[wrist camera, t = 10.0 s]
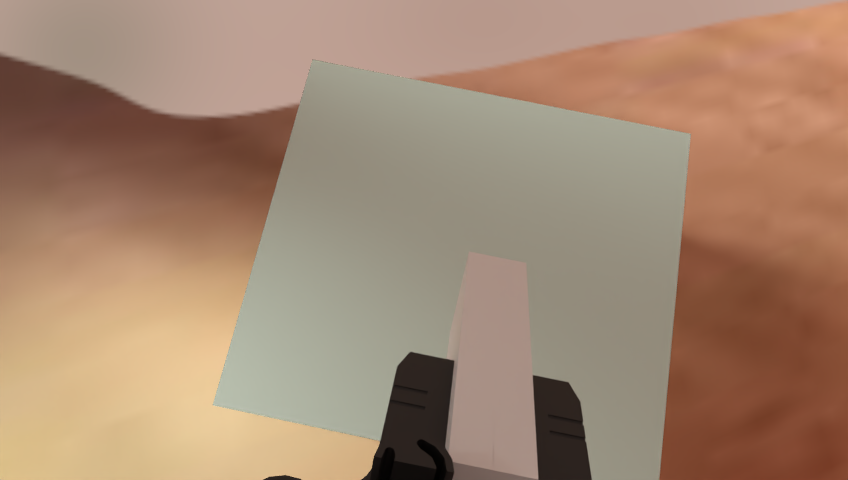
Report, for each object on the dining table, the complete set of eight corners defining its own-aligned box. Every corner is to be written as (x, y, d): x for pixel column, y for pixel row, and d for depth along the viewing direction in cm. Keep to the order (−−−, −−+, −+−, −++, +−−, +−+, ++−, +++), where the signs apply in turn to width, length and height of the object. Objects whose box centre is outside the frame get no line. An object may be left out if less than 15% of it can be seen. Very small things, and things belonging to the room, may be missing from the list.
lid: (648, 496, 22) (657, 500, 22) (219, 405, 23) (212, 405, 22) (682, 141, 26) (690, 133, 26) (315, 69, 27) (312, 59, 26)
